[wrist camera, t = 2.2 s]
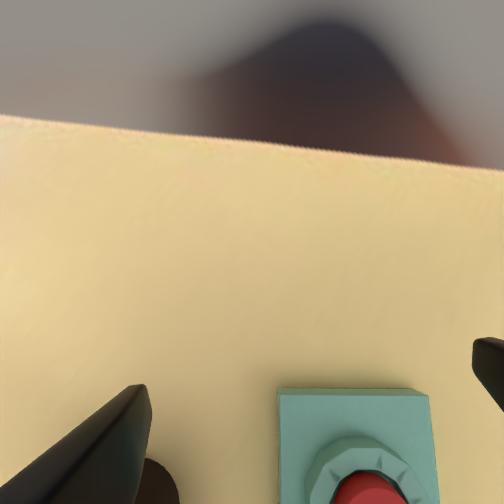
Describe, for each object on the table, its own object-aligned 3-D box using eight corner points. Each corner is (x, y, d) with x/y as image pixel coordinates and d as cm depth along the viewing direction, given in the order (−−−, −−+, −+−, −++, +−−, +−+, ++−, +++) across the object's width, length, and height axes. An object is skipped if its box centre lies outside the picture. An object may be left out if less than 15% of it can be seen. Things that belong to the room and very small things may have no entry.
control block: (432, 584, 21) (473, 646, 17) (279, 582, 21) (285, 643, 17) (412, 388, 23) (444, 402, 19) (277, 387, 23) (281, 401, 19)
